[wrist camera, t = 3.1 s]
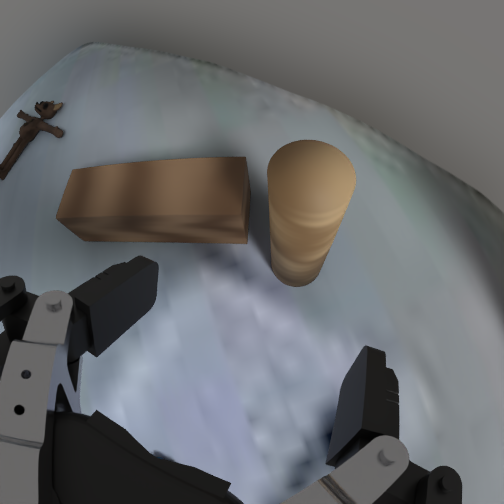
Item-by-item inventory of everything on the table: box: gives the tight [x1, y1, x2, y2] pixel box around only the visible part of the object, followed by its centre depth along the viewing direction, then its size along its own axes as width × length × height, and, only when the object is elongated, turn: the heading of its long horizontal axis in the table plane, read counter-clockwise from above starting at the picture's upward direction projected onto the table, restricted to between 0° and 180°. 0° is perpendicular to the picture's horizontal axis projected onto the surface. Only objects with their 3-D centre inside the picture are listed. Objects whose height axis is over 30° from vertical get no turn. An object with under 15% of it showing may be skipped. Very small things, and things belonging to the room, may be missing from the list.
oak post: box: [267, 140, 356, 287], centre depth 19 cm, size 4×4×12 cm
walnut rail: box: [56, 157, 251, 244], centre depth 24 cm, size 16×5×5 cm, turn 87°
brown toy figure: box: [0, 101, 63, 180], centre depth 33 cm, size 18×4×14 cm
